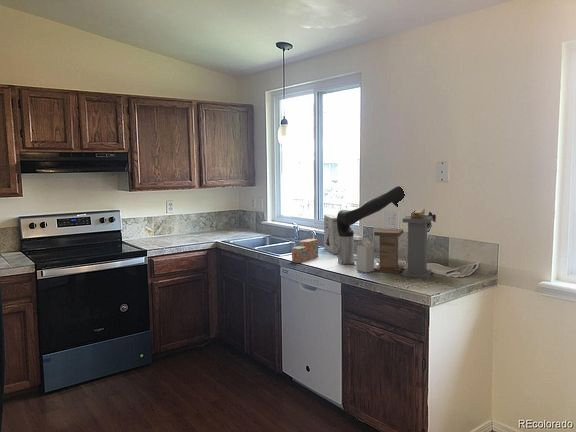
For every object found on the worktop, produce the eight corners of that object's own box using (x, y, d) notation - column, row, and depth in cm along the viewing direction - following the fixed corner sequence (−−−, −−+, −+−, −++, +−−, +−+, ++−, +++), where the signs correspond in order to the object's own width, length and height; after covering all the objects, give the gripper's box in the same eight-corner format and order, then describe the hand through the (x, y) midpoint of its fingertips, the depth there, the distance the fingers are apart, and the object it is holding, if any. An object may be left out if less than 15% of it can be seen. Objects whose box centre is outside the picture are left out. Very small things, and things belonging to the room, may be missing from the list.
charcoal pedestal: (428, 278, 249) (429, 219, 245) (402, 276, 255) (402, 218, 251) (431, 272, 262) (432, 216, 258) (406, 270, 268) (406, 215, 264)
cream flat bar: (422, 218, 249) (422, 213, 248) (410, 218, 251) (410, 213, 251) (427, 213, 270) (427, 208, 269) (417, 213, 272) (417, 208, 272)
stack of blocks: (299, 263, 293) (299, 244, 292) (291, 262, 297) (291, 243, 296) (318, 257, 310) (318, 238, 309) (310, 256, 314) (310, 238, 312)
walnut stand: (398, 273, 262) (398, 233, 259) (374, 271, 267) (374, 232, 264) (403, 267, 274) (403, 229, 271) (379, 266, 280) (379, 228, 277)
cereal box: (324, 248, 338) (323, 214, 335) (334, 247, 340) (333, 214, 336) (332, 254, 317) (332, 218, 314) (343, 253, 318) (342, 217, 315)
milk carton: (356, 270, 270) (356, 238, 267) (364, 268, 274) (364, 237, 272) (366, 272, 264) (366, 240, 262) (374, 270, 269) (374, 238, 266)
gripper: (413, 217, 288) (410, 206, 274) (437, 218, 282) (435, 207, 268) (412, 228, 285) (409, 218, 271) (436, 229, 279) (434, 219, 266)
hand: (422, 212), depth 270 cm, fingers open, 8 cm apart
